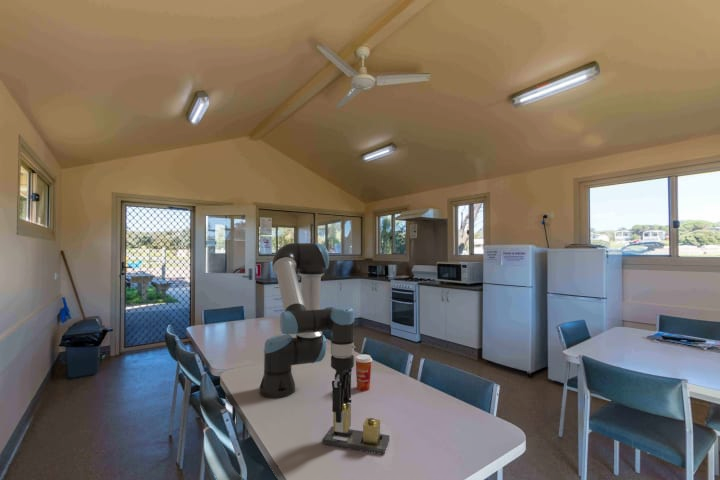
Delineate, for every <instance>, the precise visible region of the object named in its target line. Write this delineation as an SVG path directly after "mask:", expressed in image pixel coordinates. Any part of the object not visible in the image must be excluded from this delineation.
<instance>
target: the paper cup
mask: <svg viewBox="0 0 720 480" xmlns="http://www.w3.org/2000/svg"><path fill="white" fill-rule="evenodd" d="M354 362H355V374H356V389H357V390H358V391H361V392H366V391H367V392H368V391H369V390H370V386H371V376H372V375H371V373H372V372H371V371H372V362H373V358H372V356H371V355H370V354H358V355H357V356H355V358H354Z"/></svg>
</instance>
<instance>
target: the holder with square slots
mask: <svg viewBox="0 0 720 480" xmlns="http://www.w3.org/2000/svg"><path fill="white" fill-rule="evenodd" d="M336 433H337V434H336ZM335 434H336V435H342V434H343V435H344V436H348V435H350V436H349V438H348V440H342V439H336V438H335V436H336V435H335ZM343 435H342V436H343ZM333 437H334V438H333ZM380 440H381V441H380ZM389 443H390V435H389V434H383V433H382V434H381V419H375V418H374V417H370V418H369V417H367V418H365V420H364V422H363V424H362V430H358V429H351V428H349V430H348V431H347V433H344V432H343V433H342V432H336V431H333V425H332V426H331V427H330V428H329V429H328V431H327V433H326V434H325V435H324V437H323V438H322V445H324V446H325V445H326V446H332V447H336V446H338V447H337V448H342V447H343V448H344V449H348V448H350V449H349V450H354V449H355V450H356V451H360V450H362V451H361V452H365V451H368V452H367V453H371V452H373V453H372V454H377V453H381V454H380V455H383V454H385V455H386V452H385V451H387V449H388V446H389ZM343 448H342V449H343ZM386 448H387V449H386ZM355 450H354V451H355ZM374 452H375V453H374Z"/></svg>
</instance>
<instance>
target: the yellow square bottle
mask: <svg viewBox="0 0 720 480" xmlns="http://www.w3.org/2000/svg"><path fill="white" fill-rule="evenodd" d="M343 411H344V433H347V431H348V430H349V429H351V426H352V404H351V403H348V404H346V403H344V402H343ZM332 412H333V411H332ZM332 415H333V419H332V421H333V425H332V426H333V431H335V412H333V414H332Z"/></svg>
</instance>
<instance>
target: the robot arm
mask: <svg viewBox="0 0 720 480" xmlns="http://www.w3.org/2000/svg"><path fill="white" fill-rule="evenodd" d="M271 264H272V265H271V266H272V270H273V273H274V274H275V275H276V277H277V283H278V288H279V291H280V292H279V293H280V297H281V298H280V299H281V302H282V307H283V308H282V309H283V312H282V311H281V313H280V315H279V328H280V332H281V334H276V335H273V336H271V337H269V338H267V339H266V340H265V342H264V348H263V353H264V354H263V355H264V356H263V357H264V359H263V362H264V363H263V375H262V378H261V382H260V385H259V391H258V394H259V395H260V396H262V397H263V398H268V399H280V398H284V397H288V396H290V395H292V394H293V393H294V392H295V391H296V383H295V379H294V377H293V373H292V366H296V365H297V366H298V365H305V364H314V363H319V362H322V361H323V359H324V358H325V355H326V352H327V338H326V336H325V335H324V334H323V332H330V337H331V338H330V339H331V340H330V355H331V356H330V367H331V368H332V369H333V370H335V374H334V380H332V381H331V387H332V398H331V399H332V401H331V403H332V407H331V409H332V412H335V431H336V432H342V433H343V432H344V411H343V402H344V403H346V404H351V403H352V371H353V370H352V369H353V368H354V366H355V356H354V354H355V353H354V352H355V349H356V346H355V344H354V343H355V310H354V308H352V307H351V306H344V305H342V306H334V307H332V306H328V307H325V308H321V284H322V283H321V279H322V277H323V276H324V275H325V270H328V269H329V265H330V256H329V251H328V249H327V246H326V245H325V244H323V243H316V242H304V243H303V242H301V243H300V242H296V243H295V242H291V243H290V242H289V243H287V244H284V245H282V246H281V247H280V248H279V249H277V250H276V252H275V253H274V255H273V259H272V263H271ZM296 270H298V272H296ZM297 273H298V275H299V276H300V277H301V285H300V282H299V279H298V276H297ZM300 286H301V287H300ZM292 335H296V337H292Z"/></svg>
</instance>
